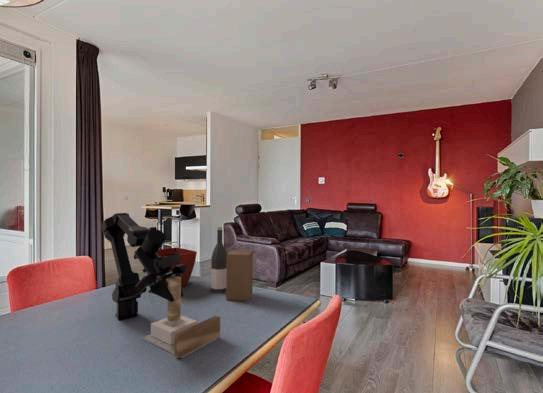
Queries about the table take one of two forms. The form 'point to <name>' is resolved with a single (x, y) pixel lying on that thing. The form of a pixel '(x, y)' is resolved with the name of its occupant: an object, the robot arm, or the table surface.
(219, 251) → the wine bottle
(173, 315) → the dowel
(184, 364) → the table surface
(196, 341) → the rail base
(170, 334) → the socket block
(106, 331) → the table surface
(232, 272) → the wooden block
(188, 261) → the plant pot
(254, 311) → the table surface
